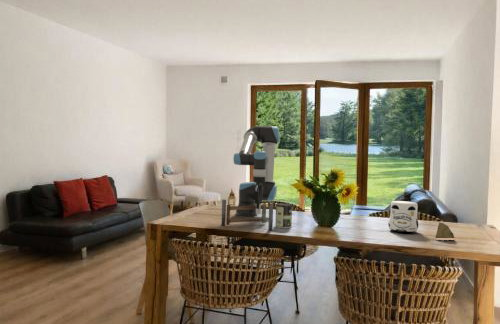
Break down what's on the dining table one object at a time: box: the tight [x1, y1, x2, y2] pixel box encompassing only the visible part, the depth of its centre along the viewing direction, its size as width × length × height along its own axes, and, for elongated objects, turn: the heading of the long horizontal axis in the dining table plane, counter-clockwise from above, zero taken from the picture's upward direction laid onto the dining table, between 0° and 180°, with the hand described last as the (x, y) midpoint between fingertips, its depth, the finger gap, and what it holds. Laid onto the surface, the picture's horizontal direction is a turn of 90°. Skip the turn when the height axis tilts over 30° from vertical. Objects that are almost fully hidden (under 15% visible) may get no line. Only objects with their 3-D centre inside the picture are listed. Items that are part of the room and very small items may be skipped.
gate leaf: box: [225, 203, 267, 226], centre depth 264 cm, size 2×26×12 cm, turn 112°
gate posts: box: [221, 199, 274, 231], centre depth 256 cm, size 2×32×16 cm, turn 72°
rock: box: [435, 222, 455, 238], centre depth 238 cm, size 11×9×10 cm
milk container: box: [387, 200, 419, 233], centre depth 260 cm, size 17×17×18 cm
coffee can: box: [274, 202, 293, 229], centre depth 263 cm, size 10×10×14 cm
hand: (258, 213), depth 264 cm, fingers closed
